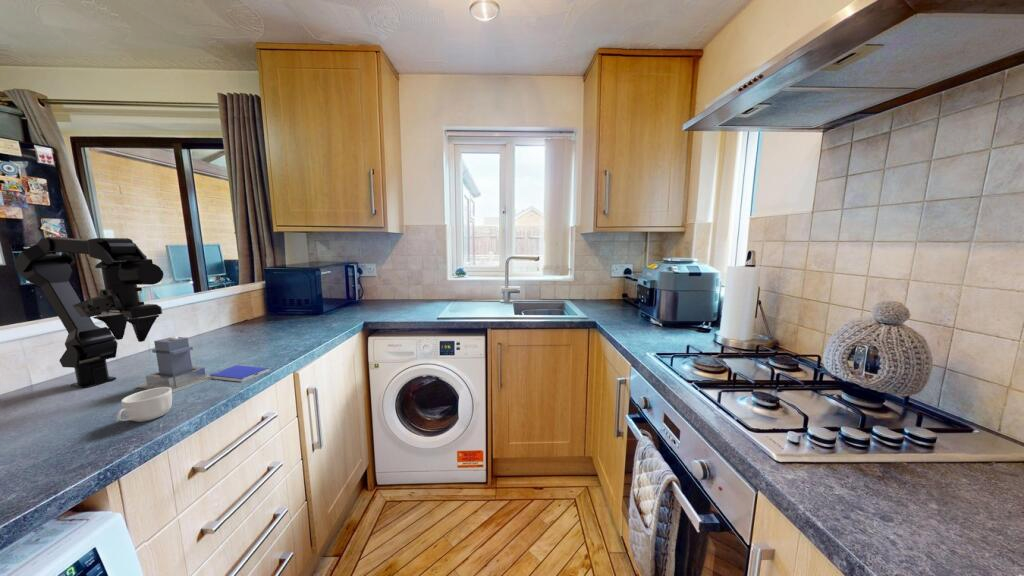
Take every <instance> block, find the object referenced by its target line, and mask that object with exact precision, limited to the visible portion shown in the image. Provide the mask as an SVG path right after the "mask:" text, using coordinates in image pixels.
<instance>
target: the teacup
mask: <svg viewBox="0 0 1024 576" xmlns="http://www.w3.org/2000/svg"><path fill="white" fill-rule="evenodd" d="M121 405H122V408H121V409H119V410H118V412H117V413H116V419H117V421H121V422H122V421H123V422H124V421H125V422H126V421H133V422H139V423H142V422H148V421H153V420H156V419H158V418H160V417H162V416H164V415H165V414H168V412H169V411H170V410H171V407H172V405H173V393H172V389H171V388H169V387H160V388H154V389H145V390H141V391H138V392H135V393H132V394H129V395H127V396H126V397H125V396H124V398H122V399H121ZM122 413H124V415H125V416H126V418H122V416H121V415H122Z"/></svg>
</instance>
